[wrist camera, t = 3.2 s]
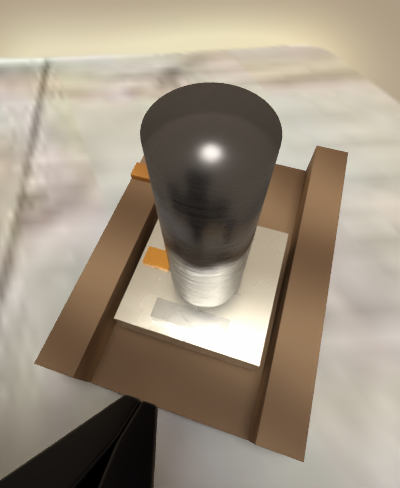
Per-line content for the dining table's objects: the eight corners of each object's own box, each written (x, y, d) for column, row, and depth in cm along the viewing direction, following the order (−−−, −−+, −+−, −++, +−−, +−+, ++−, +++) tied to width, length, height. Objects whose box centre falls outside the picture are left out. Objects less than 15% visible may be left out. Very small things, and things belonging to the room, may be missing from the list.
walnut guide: (283, 452, 13) (306, 463, 10) (64, 372, 15) (30, 362, 12) (328, 188, 19) (350, 148, 16) (170, 150, 21) (165, 107, 18)
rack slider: (253, 370, 14) (338, 300, 5) (122, 327, 14) (8, 205, 6) (280, 249, 16) (367, 69, 8) (169, 218, 17) (135, 27, 9)
